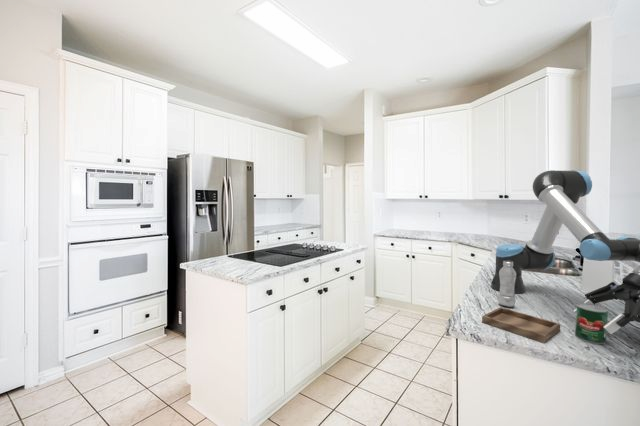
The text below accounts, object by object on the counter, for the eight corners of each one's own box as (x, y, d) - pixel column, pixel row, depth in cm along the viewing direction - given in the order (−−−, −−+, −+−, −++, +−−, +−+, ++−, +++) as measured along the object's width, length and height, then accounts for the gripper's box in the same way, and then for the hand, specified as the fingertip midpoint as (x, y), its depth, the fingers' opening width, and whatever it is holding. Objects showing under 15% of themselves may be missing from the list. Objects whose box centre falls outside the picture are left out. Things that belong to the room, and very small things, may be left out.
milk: (611, 297, 143) (615, 244, 142) (580, 291, 152) (583, 241, 150) (614, 292, 151) (617, 242, 150) (584, 287, 160) (586, 239, 158)
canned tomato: (581, 341, 99) (582, 309, 98) (570, 331, 106) (572, 301, 106) (611, 346, 96) (613, 313, 95) (598, 335, 103) (600, 304, 103)
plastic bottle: (509, 309, 127) (512, 263, 126) (494, 304, 133) (496, 260, 132) (518, 307, 130) (520, 262, 129) (503, 302, 136) (504, 259, 135)
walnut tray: (482, 322, 114) (482, 316, 113) (500, 312, 123) (500, 307, 123) (544, 343, 98) (544, 336, 97) (560, 330, 107) (560, 323, 107)
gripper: (695, 301, 85) (632, 348, 88) (620, 278, 110) (573, 315, 112) (675, 282, 85) (613, 329, 88) (605, 263, 110) (558, 301, 113)
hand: (590, 321), depth 100 cm, fingers open, 13 cm apart
